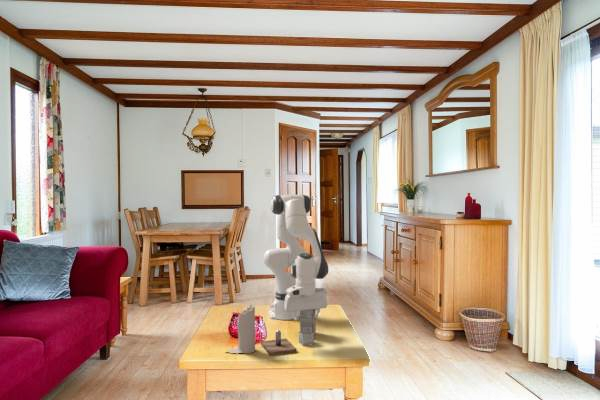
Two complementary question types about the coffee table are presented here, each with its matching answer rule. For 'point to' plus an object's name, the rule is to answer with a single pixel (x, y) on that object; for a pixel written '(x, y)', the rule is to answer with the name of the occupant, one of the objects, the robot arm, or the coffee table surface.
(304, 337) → the collar
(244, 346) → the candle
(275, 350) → the post board
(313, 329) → the coffee box
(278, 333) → the steel post
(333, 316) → the coffee table surface
